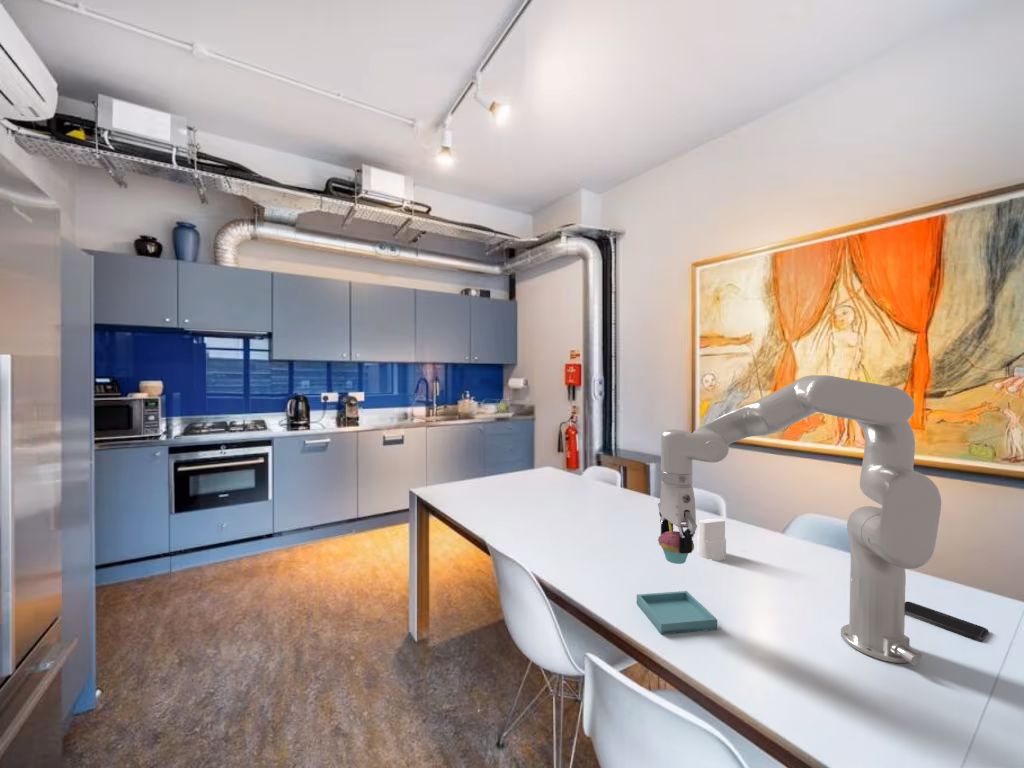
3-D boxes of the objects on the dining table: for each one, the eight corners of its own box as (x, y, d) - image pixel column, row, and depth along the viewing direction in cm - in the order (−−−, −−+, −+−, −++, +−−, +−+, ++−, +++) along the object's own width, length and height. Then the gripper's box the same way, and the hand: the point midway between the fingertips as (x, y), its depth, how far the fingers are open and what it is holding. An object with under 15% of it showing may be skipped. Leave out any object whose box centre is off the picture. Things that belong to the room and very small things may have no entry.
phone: (981, 639, 97) (896, 608, 109) (981, 644, 97) (896, 612, 110) (989, 629, 101) (907, 600, 114) (989, 633, 101) (907, 604, 114)
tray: (717, 629, 101) (717, 619, 101) (661, 634, 100) (661, 624, 99) (686, 599, 115) (686, 590, 115) (636, 603, 113) (636, 594, 113)
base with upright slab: (709, 561, 139) (710, 526, 138) (691, 550, 147) (691, 517, 147) (732, 558, 141) (732, 523, 141) (712, 548, 150) (713, 515, 150)
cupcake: (655, 562, 105) (656, 516, 105) (660, 550, 113) (661, 506, 112) (692, 570, 101) (693, 521, 101) (695, 556, 109) (695, 511, 108)
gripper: (710, 486, 98) (709, 559, 99) (672, 470, 116) (672, 532, 116) (680, 487, 97) (680, 561, 98) (647, 471, 115) (646, 533, 115)
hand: (675, 545), depth 107 cm, fingers closed on cupcake, 8 cm apart
